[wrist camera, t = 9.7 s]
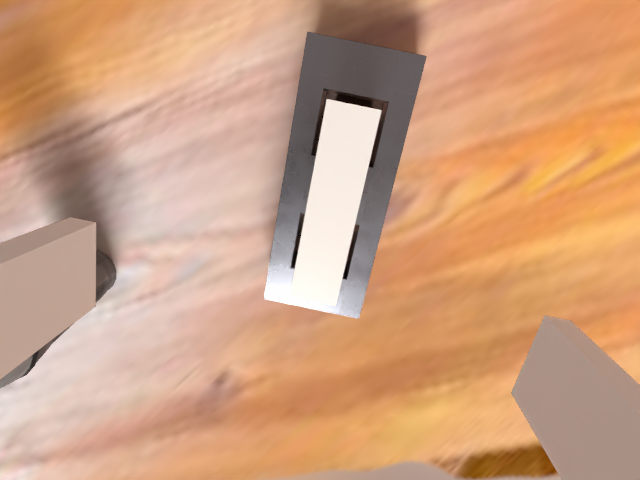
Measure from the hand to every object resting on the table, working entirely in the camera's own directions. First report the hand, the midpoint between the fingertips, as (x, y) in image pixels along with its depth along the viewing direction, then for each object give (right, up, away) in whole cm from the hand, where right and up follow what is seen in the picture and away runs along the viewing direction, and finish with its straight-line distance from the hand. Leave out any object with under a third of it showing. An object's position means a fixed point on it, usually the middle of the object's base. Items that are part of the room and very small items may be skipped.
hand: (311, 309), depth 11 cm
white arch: (+2, +7, +21) cm, 22 cm away
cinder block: (+2, +7, +21) cm, 22 cm away
